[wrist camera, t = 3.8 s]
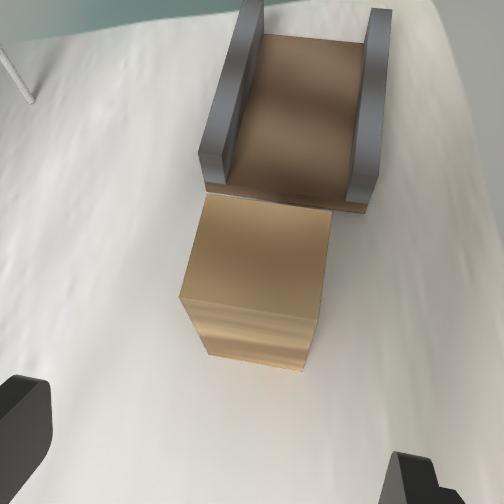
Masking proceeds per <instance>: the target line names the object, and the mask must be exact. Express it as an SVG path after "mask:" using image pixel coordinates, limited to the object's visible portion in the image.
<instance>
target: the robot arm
mask: <svg viewBox="0 0 504 504" xmlns="http://www.w3.org/2000/svg"><path fill="white" fill-rule="evenodd" d="M52 435H53V427H52V407H51V389H50V384H49V382H48V381H46V380H41V379H36V378H31V377H26V376H21V375H13V376H11V377H10V378H9V379H7V380H6V381H5V382H4V383H3V384H2V385H1V386H0V504H9V503H10V501H11V500H12V499H13V498H14V496H15V495H16V494H17V493H18V491H19V490H20V489H21V487H22V486H23V485H24V484H25V482H26V481H27V480H28V479H29V477H30V476H31V475H32V474H33V472H34V471H35V470H36V468H37V467H38V466H39V465H40V463H41V462H42V461H43V459H44V458H45V456H46V454H47V452H48V450H49V447H50V445H51V441H52ZM378 504H465V502H464V501H463V500H462V498H461V497H460V496H459V494H458V493H457V492H456V490H453V489H448V488H443V487H439V485H438V481H437V477H436V474H435V470H434V467H433V463H432V461H431V460H430V459H429V458H426V457H421V456H416V455H411V454H406V453H401V452H396V451H394V452H393V453H392V455H391V458H390V461H389V465H388V469H387V473H386V477H385V480H384V484H383V488H382V492H381V495H380V499H379V503H378Z"/></svg>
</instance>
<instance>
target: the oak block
mask: <svg viewBox="0 0 504 504" xmlns="http://www.w3.org/2000/svg"><path fill="white" fill-rule="evenodd" d="M331 218H332V211H326V210H319V209H312V208H305V207H298V206H291V205H284V204H276V203H269V202H262V201H255V200H248V199H241V198H234V197H227V196H220V195H213V194H207V196H206V199H205V203H204V207H203V210H202V214H201V218H200V221H199V225H198V229H197V232H196V236H195V240H194V243H193V247H192V251H191V255H190V258H189V262H188V266H187V269H186V273H185V277H184V280H183V284H182V288H181V291H180V295H179V298H180V300H181V302H182V304H183V306H184V308H185V310H186V312H187V313H188V315H189V317H190V319H191V321H192V323H193V325H194V327H195V329H196V331H197V333H198V335H199V336H200V338H201V340H202V342H203V344H204V346H205V348H206V350H207V352H208V354H209V355H213V356H219V357H225V358H230V359H236V360H241V361H247V362H252V363H258V364H263V365H269V366H274V367H280V368H285V369H291V370H296V371H302V370H303V367H304V364H305V361H306V358H307V354H308V351H309V348H310V345H311V342H312V338H313V335H314V332H315V329H316V326H317V323H318V318H319V310H320V302H321V295H322V287H323V279H324V272H325V264H326V256H327V249H328V241H329V233H330V226H331Z"/></svg>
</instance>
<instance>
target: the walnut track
mask: <svg viewBox="0 0 504 504" xmlns="http://www.w3.org/2000/svg"><path fill="white" fill-rule="evenodd" d="M391 19H392V10H391V9H379V8H372V9H371V13H370V18H369V22H368V27H367V32H366V36H365V41H364V44H363V43H353V42H343V41H333V40H323V39H313V38H303V37H293V36H283V35H273V34H264V0H243V2H242V6H241V9H240V12H239V15H238V19H237V22H236V26H235V29H234V32H233V36H232V39H231V42H230V46H229V49H228V53H227V56H226V59H225V63H224V66H223V69H222V73H221V76H220V80H219V83H218V86H217V90H216V93H215V97H214V100H213V103H212V107H211V110H210V113H209V117H208V120H207V124H206V127H205V130H204V134H203V137H202V140H201V144H200V147H199V151H198V155H199V160H200V164H201V168H202V173H203V177H204V182H205V186H206V191H207V192H214V193H221V194H228V195H235V196H243V197H250V198H257V199H264V200H271V201H278V202H285V203H292V204H299V205H307V206H314V207H321V208H328V209H335V210H342V211H349V212H356V213H363V214H365V212H366V209H367V206H368V203H369V201H370V198H371V195H372V192H373V190H374V187H375V184H376V181H377V179H378V175H379V163H380V151H381V139H382V127H383V115H384V103H385V91H386V79H387V67H388V55H389V43H390V31H391Z"/></svg>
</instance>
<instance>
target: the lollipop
mask: <svg viewBox="0 0 504 504" xmlns="http://www.w3.org/2000/svg"><path fill="white" fill-rule="evenodd" d="M0 61H1V62H2V64H3V65H4V67H5V68H6V70H7V71H8V73H9V74H10V76H11V78H12V79H13V81H14V82H15V84H16V85H17V87H18V88H19V90H20V91H21V93H22V94H23V96H24V97H25V99H26V100H27V102H28V103H29V104H32V103H34V101H35V99H34V98H33V96H32V95H31V93H30V92H29V90H28V88H27V87H26V85H25V84H24V82H23V80H22V79H21V77H20V76H19V74H18V73H17V71H16V69H15V68H14V66H13V65H12V63H11V61H10V60H9V58H8V57H7V55H6V53H5V52H4V50H3V49H2V47H1V46H0Z"/></svg>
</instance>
